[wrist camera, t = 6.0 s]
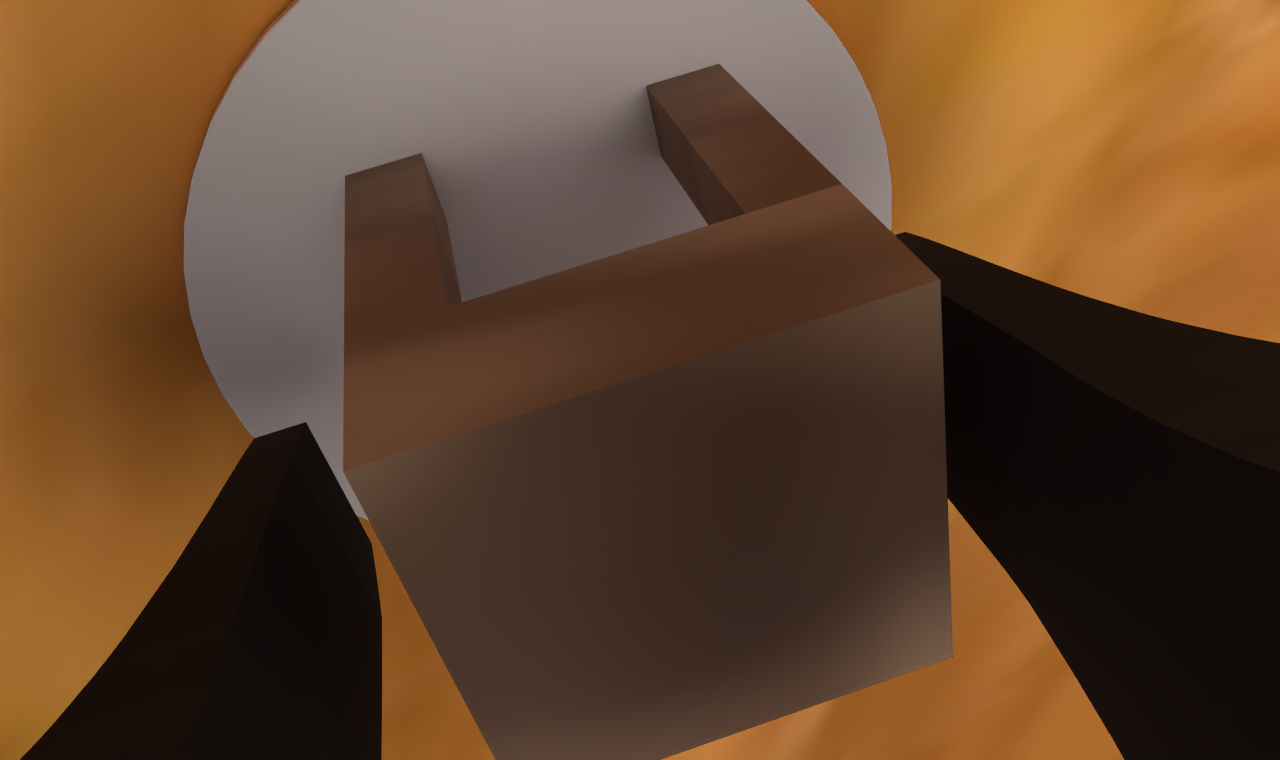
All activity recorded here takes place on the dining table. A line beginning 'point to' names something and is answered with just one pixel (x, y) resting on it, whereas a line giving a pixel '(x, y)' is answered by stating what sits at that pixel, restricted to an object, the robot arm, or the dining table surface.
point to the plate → (471, 158)
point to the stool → (657, 449)
